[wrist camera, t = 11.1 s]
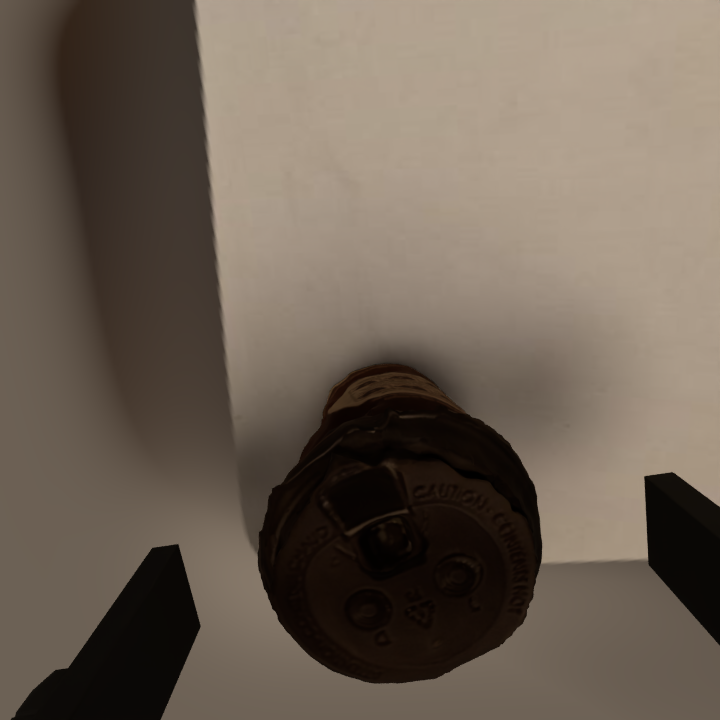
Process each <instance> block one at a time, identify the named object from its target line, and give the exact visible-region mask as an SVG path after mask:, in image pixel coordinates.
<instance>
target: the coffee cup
mask: <svg viewBox="0 0 720 720" xmlns="http://www.w3.org/2000/svg"><path fill="white" fill-rule="evenodd" d="M541 559H542V539H541V531H540V517H539V512H538V507H537V495H536V491H535V486H534V484H533V482H532V481H531V479H530V478H529V475H528V473H527V471H526V469H525V468H524V466H523V464H522V462H521V460H520V458H519V456H518V455H517V454H516V453H515V451H514V450H513V449H512V447H511V445H510V443H509V442H508V441H506V440H505V439H504V438H503V436H502V435H500V434H498V433H497V432H496V431H495V430H494V429H493V428H491V427H490V426H488V425H486V424H484V422H483V421H481V420H479V419H476V418H472V417H471V416H470V415H468V414H466V413H465V412H464V410H462V409H461V408H460V407H459V406H458V405H456V404H455V403H454V402H453V401H451V399H450V398H449V397H448V396H446V395H445V394H444V393H443V392H442V391H441V390H440V389H439V388H438V386H437V385H436V384H435V383H434V382H433V381H431V380H430V379H428V378H427V377H426V376H424V375H423V374H421V373H420V372H418V371H416V370H415V369H413V368H411V367H409V366H404V365H399V364H380V365H372V366H369V367H366V368H364V369H360V370H357V371H354V372H351V373H350V374H349V375H348V376H347V377H346V378H345V379H343V380H342V381H341V382H339V383H338V384H337V385H334V386H333V388H332V389H331V390H330V392H329V396H328V400H327V404H326V406H325V408H324V410H323V419H322V423H321V426H320V428H319V429H318V431H317V432H316V433H315V434H314V435H313V436H312V437H311V438H310V440H309V442H308V443H307V445H306V446H305V447H304V449H303V451H302V453H301V457H300V460H299V462H298V464H297V465H296V466H295V467H294V468H293V469H292V470H291V471H290V472H289V473H288V475H287V477H286V478H285V480H284V481H283V483H282V484H281V485H278V486H276V487H274V488H272V493H271V494H270V495H269V498H268V507H267V512H266V514H265V518H264V523H263V528H262V530H261V531H260V532H259V550H258V567H259V572H260V574H261V579H262V582H263V586H264V589H265V590H266V592H267V594H268V599H269V600H270V603H271V605H272V609H273V610H274V611H275V612H276V613H277V616H278V620H279V622H280V623H281V624H282V626H283V627H284V629H285V630H286V631H287V632H288V633H289V634H290V635H291V636H292V638H293V639H294V640H295V641H296V642H297V643H298V644H299V645H300V647H301V648H302V649H303V650H304V651H305V652H306V653H307V654H308V655H310V656H311V657H312V658H313V659H315V660H316V661H318V662H319V663H321V664H322V665H324V666H326V667H327V668H328V669H330V670H332V671H334V672H337V673H340V674H342V675H345V676H348V677H351V678H355V679H359V680H361V681H364V682H369V683H406V682H413V681H420V680H428V679H435V678H438V677H440V676H442V675H443V674H445V673H448V672H450V671H451V670H453V669H454V668H456V667H458V666H460V665H462V664H464V663H466V662H469V661H471V660H473V659H475V658H477V657H479V656H481V655H483V654H485V653H487V652H489V651H490V650H493V649H495V648H497V647H499V646H500V645H501V644H503V643H504V642H505V640H506V639H507V638H509V637H510V636H511V635H512V634H513V632H514V631H515V630H516V629H517V627H519V626H520V625H522V624H523V622H524V619H525V618H526V616H527V609H528V608H529V603H530V602H531V600H532V599H533V591H534V586H535V583H536V577H537V574H538V571H539V567H540V564H541Z"/></svg>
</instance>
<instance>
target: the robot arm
mask: <svg viewBox="0 0 720 720" xmlns="http://www.w3.org/2000/svg"><path fill="white" fill-rule="evenodd" d="M644 479H645V499H646V520H647V541H648V562H649V566H650V567H651V568H652V569H653V570H654V571H655V572H656V574H657V575H658V576H659V577H660V578H661V579H662V580H663V582H664V583H665V584H666V585H667V586H668V587H669V588H670V590H671V591H672V592H673V593H674V594H675V595H676V596H677V597H678V599H679V600H680V601H681V602H682V603H683V604H684V605H685V607H686V608H687V609H688V610H689V611H690V612H691V613H692V614H693V616H694V617H695V618H696V619H697V620H698V621H699V622H700V624H701V625H702V626H703V627H704V628H705V629H706V630H707V631H708V633H709V634H710V635H711V636H712V637H713V638H714V639H715V641H716V642H717V643H718V644H719V645H720V507H719V506H718V505H716V504H715V503H714V502H712V501H711V500H710V499H708V498H707V497H705V496H704V495H703V494H701V493H700V492H699V491H697V490H696V489H695V488H693V487H692V486H691V485H689V484H688V483H687V482H685V481H684V480H683V479H681V478H680V477H679V476H677V475H676V474H675V473H673V472H671V473H664V474H657V475H650V476H644ZM199 629H200V622H199V619H198V615H197V611H196V608H195V604H194V600H193V597H192V593H191V589H190V585H189V582H188V578H187V574H186V571H185V567H184V563H183V560H182V556H181V552H180V549H179V545H178V544H177V545H169V546H162V547H156V548H152V549H151V551H150V552H149V554H148V555H147V556H146V558H145V559H144V561H143V562H142V563H141V565H140V566H139V568H138V569H137V571H136V572H135V574H134V575H133V576H132V578H131V579H130V581H129V582H128V583H127V585H126V586H125V588H124V589H123V591H122V592H121V593H120V595H119V596H118V598H117V599H116V601H115V602H114V603H113V605H112V606H111V608H110V609H109V611H108V612H107V613H106V615H105V616H104V618H103V619H102V621H101V622H100V623H99V625H98V626H97V628H96V629H95V631H94V632H93V633H92V635H91V636H90V638H89V639H88V641H87V642H86V644H85V645H84V646H83V648H82V649H81V651H80V652H79V653H78V655H77V656H76V658H75V659H74V661H73V662H72V663H71V665H70V666H69V668H67V669H60V670H55V671H54V672H53V673H52V674H50V675H49V676H48V677H47V678H46V679H45V680H44V681H43V682H41V683H40V684H39V685H38V686H37V687H36V688H35V689H34V690H33V691H32V692H31V693H30V694H29V696H28V697H27V698H26V700H25V701H24V703H23V704H22V705H21V707H20V708H19V709H18V711H17V712H16V716H15V717H14V718H12V719H11V720H161V717H162V715H163V713H164V710H165V708H166V706H167V704H168V701H169V699H170V697H171V694H172V692H173V689H174V687H175V685H176V683H177V680H178V678H179V675H180V673H181V671H182V669H183V666H184V664H185V662H186V659H187V657H188V655H189V652H190V650H191V648H192V645H193V643H194V641H195V638H196V636H197V634H198V631H199Z"/></svg>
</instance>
